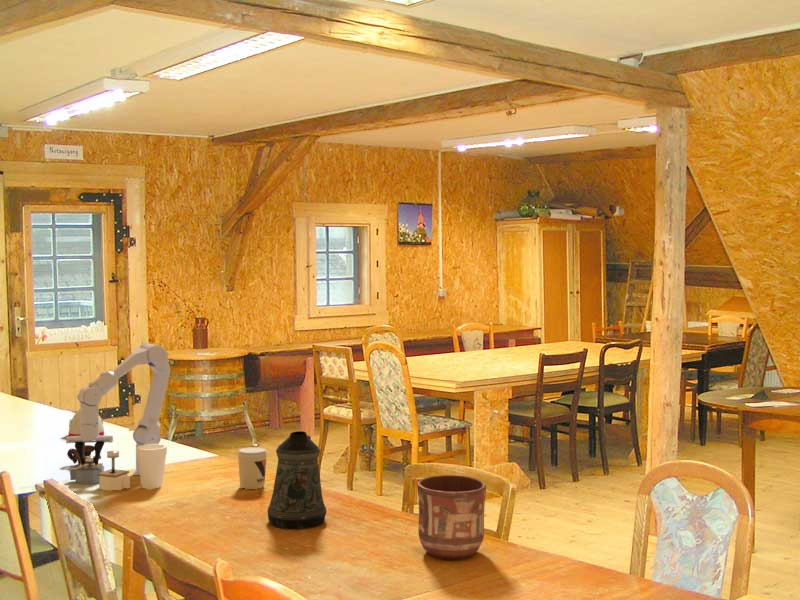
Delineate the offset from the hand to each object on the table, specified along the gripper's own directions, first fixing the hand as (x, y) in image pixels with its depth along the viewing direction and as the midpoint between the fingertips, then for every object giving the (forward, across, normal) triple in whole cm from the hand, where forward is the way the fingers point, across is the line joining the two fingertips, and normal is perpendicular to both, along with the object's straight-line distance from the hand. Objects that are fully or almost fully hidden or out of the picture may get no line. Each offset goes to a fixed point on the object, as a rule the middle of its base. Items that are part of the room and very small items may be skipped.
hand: (89, 464), depth 313 cm
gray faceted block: (+6, 0, 0) cm, 6 cm away
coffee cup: (+6, -53, +13) cm, 55 cm away
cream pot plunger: (+1, -9, +10) cm, 14 cm away
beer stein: (+6, -66, +54) cm, 85 cm away
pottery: (+6, -103, +88) cm, 136 cm away
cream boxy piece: (+6, -9, +10) cm, 15 cm away
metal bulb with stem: (+5, 0, 0) cm, 5 cm away
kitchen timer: (+6, +15, -81) cm, 83 cm away
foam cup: (+6, -21, +10) cm, 24 cm away
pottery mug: (+6, +6, -24) cm, 25 cm away
